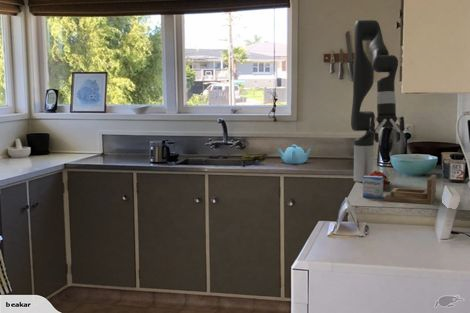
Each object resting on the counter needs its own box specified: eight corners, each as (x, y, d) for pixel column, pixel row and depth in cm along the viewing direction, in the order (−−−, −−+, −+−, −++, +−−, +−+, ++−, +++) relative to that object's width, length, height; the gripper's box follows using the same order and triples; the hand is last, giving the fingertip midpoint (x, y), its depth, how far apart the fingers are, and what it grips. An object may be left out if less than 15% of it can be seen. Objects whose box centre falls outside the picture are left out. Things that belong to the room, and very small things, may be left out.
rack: (390, 194, 256) (391, 172, 255) (435, 197, 248) (436, 174, 247) (383, 200, 243) (384, 177, 242) (430, 204, 236) (431, 179, 234)
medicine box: (362, 197, 251) (362, 176, 250) (364, 195, 255) (364, 175, 254) (381, 198, 249) (382, 177, 247) (383, 196, 253) (383, 175, 252)
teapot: (313, 163, 357) (313, 144, 356) (293, 165, 349) (293, 146, 347) (295, 160, 370) (295, 142, 368) (276, 162, 361) (276, 144, 360)
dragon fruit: (371, 189, 278) (385, 197, 267) (359, 179, 274) (372, 188, 263) (382, 174, 277) (397, 182, 266) (370, 164, 274) (384, 172, 263)
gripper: (400, 103, 258) (401, 142, 257) (366, 104, 257) (368, 142, 257) (406, 101, 250) (407, 141, 250) (371, 102, 249) (372, 142, 249)
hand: (387, 142), depth 253 cm, fingers open, 8 cm apart
